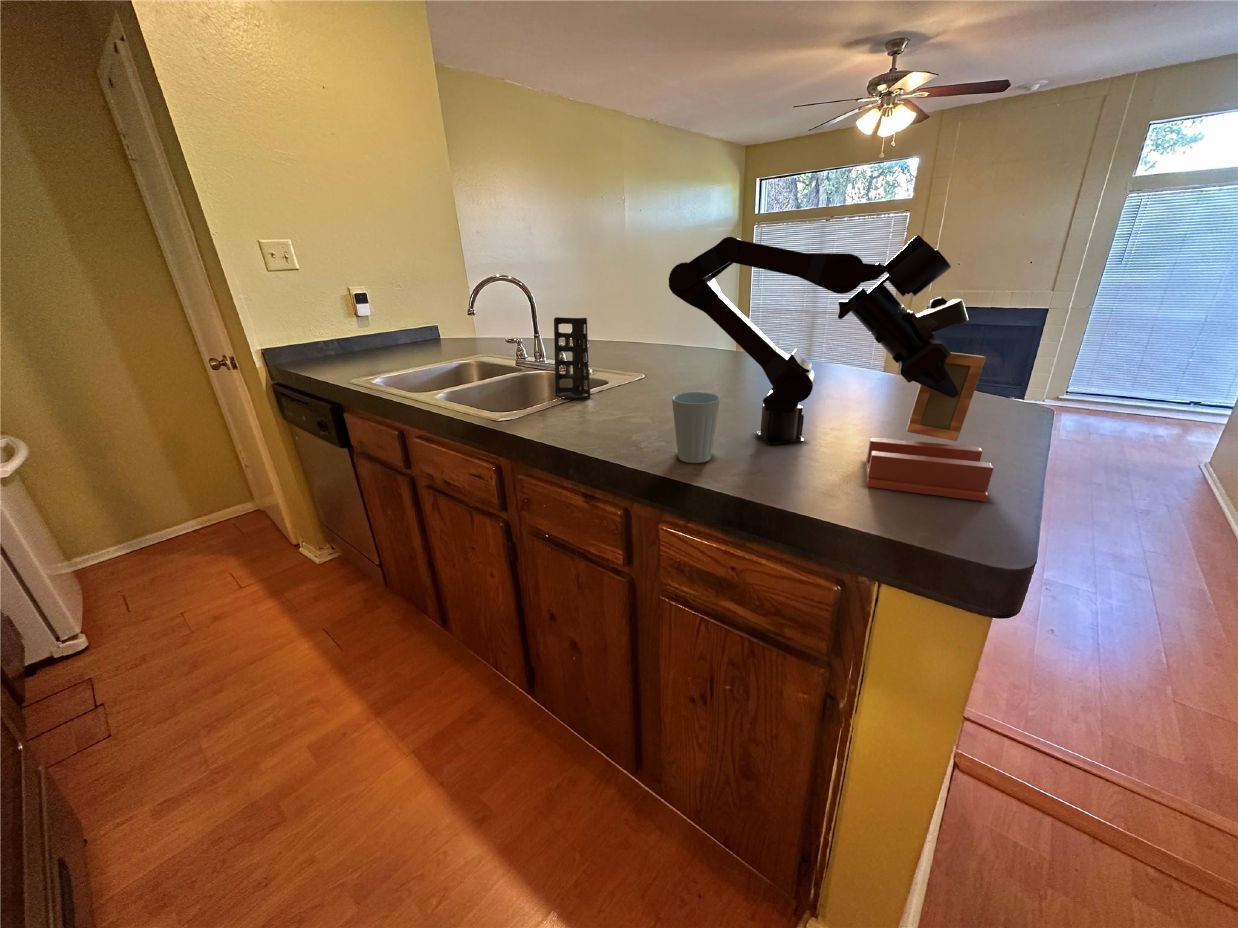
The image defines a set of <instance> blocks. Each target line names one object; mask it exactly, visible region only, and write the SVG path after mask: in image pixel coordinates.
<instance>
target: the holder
mask: <svg viewBox="0 0 1238 928" xmlns="http://www.w3.org/2000/svg"><path fill="white" fill-rule="evenodd" d="M560 325H571V332H560ZM560 339H564V346H561V345H560ZM553 340H554V341H553V342H554V345H553V346H554V380H555V381H554V385H555V388H554V389H555V390H554V391H555V395H554V396H555V397H558V398H563V399H566V400H567V399H569V400H577V401H579V400H580V401H581V400H582V401H586V400H591V397H592V396H591V395H592V394H591V382H590V367H589V366H590V365H589V335H588V317H559V316H558V317H557V316H556V317H554V318H553ZM571 343H572V344H571ZM560 353H572V354H571V355H572V358H571V360H562V359H560ZM563 366H564V367H565V373H561V371H560V370H561V369H560V367H563ZM571 366H572V371H571ZM561 380H572V387H571V386H568V387H567V386H563V387H562V386H561ZM586 381H587V382H586ZM586 383H587V384H586ZM586 385H587V386H586Z"/></svg>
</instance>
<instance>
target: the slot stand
mask: <svg viewBox="0 0 1238 928" xmlns="http://www.w3.org/2000/svg"><path fill="white" fill-rule="evenodd" d="M982 455H983V451H982V449H981V448H980V447H979V446H969V445H959V444H947V443H938V442H927V441H926V442H925V441H915V440H904V439H892V438H883V437H882V438H881V437H869V443H868V449H867V455H866V457H865V458H866V459H865V472H866V474H865V475H866V486H867V488H876V489H884V490H891V491H898V492H899V491H900V492H906V493H907V492H908V493H913V494H914V493H915V494H922V495H930V496H931V495H932V496H938V497H946V498H954V499H962V500H969V501H970V500H971V501H977V502H985V503H986V502H987V501H988V498H989V494H988V490H989V486H990V484H991V483H990V482H991V479H992V476H993V472H994V467H993V465H992V464H991V462H985V461H981V458H982Z"/></svg>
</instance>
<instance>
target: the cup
mask: <svg viewBox="0 0 1238 928" xmlns="http://www.w3.org/2000/svg"><path fill="white" fill-rule="evenodd" d="M671 401H672V412H673V421H674V431H675V439H676V449H677V457H678V459H679V460H680V461H682V462H685V463H690V464H701V463H705V462H708V461H710V460H711V459H712V453H713V447H714V440H715V434H716V429H717V428H716V427H717V420H718V415H719V409H720V408H719V407H720V403H721V397H720V395H717V394H715V393H712V392H703V391H690V392H688V391H687V392H682V393H677V394H675V395H673V396H672V397H671Z"/></svg>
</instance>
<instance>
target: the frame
mask: <svg viewBox="0 0 1238 928" xmlns="http://www.w3.org/2000/svg"><path fill="white" fill-rule="evenodd" d="M950 352H951V351H950ZM986 359H987V357H986V356H984V355H978V354H967V353H961V352H951V354H950V355H949V356H948V357H947V358H946V361H945V368H946V370H947V371H948V373H949V375H950V377H951V379H952V381H953V382H954V384H955V386H956V388H957V390H958V391H959V395H957V396H956V397H954V398H951V397H949V396H947V395H944V394H942V393H940V392H938V391H935V390H933V389H931V388H928V387H926V386H924V385H921V384H919V386H918V389H917V392H916V395H915V399H914V401H913V405H912V408H911V412H910V415H909V418H908V422H907V424H906V427H905V429H906V433H910V434H916V435H920V436H925V437H931V438H936V439H941V440H942V439H943V440H946V441H947V440H948V441H952V442H958V440H959V437H960V434H961V432H962V429H963V426H964V423H965V420H966V417H967V413H968V411H969V408H970V405H971V402H972V399H973V396H974V395H975V391H976V388H977V385H978V382H979V379H980V377H981V373H982V370H983V367H984V364H985V362H986Z"/></svg>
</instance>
